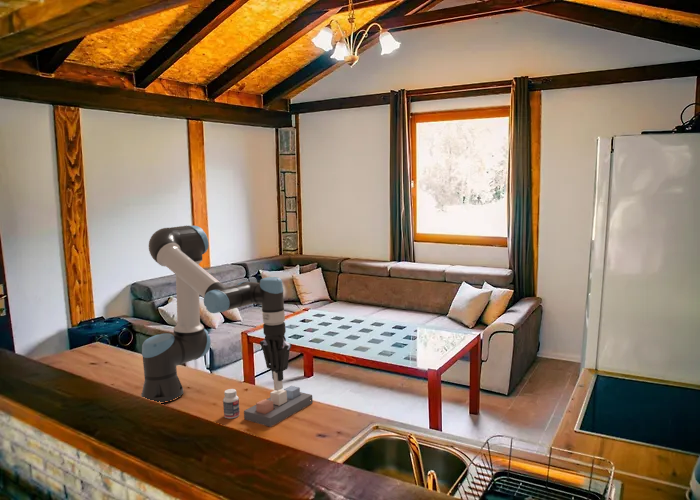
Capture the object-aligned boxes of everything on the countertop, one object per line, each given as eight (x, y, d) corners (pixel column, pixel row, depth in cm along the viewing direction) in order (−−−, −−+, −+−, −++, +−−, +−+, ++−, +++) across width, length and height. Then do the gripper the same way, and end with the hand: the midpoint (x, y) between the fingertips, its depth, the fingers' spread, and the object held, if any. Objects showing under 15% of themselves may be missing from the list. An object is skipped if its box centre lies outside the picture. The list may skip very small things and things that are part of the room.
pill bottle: (235, 419, 177) (234, 394, 176) (221, 418, 178) (219, 393, 177) (242, 412, 182) (240, 388, 181) (228, 412, 183) (226, 387, 182)
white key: (270, 403, 181) (270, 392, 181) (278, 399, 185) (277, 388, 184) (279, 405, 179) (278, 394, 179) (287, 401, 182) (286, 390, 182)
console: (244, 419, 177) (243, 410, 176) (287, 396, 195) (286, 389, 194) (270, 426, 170) (270, 418, 170) (312, 402, 188) (312, 394, 188)
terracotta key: (256, 414, 176) (256, 403, 175) (265, 410, 179) (264, 399, 179) (265, 417, 174) (264, 405, 173) (273, 412, 177) (273, 401, 176)
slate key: (284, 400, 187) (283, 389, 187) (291, 396, 191) (291, 385, 190) (293, 402, 185) (292, 391, 185) (300, 398, 188) (299, 387, 188)
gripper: (252, 323, 179) (257, 389, 182) (280, 327, 172) (285, 396, 175) (267, 318, 186) (272, 382, 188) (295, 321, 178) (299, 388, 181)
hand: (278, 389), depth 181 cm, fingers closed
